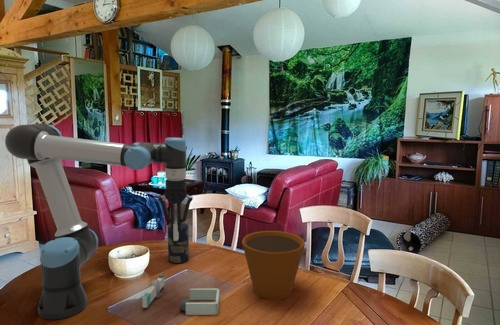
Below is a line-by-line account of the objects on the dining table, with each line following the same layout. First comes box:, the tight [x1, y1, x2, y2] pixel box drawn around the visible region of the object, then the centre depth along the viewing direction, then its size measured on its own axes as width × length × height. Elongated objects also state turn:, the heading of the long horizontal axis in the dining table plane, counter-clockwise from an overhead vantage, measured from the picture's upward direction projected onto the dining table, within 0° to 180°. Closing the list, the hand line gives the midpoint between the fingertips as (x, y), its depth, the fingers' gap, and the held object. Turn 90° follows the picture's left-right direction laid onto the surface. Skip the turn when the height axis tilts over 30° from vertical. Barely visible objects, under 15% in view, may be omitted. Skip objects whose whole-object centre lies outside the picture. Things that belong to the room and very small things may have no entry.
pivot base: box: [153, 291, 163, 300], centre depth 133 cm, size 4×4×1 cm
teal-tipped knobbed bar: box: [141, 272, 165, 309], centre depth 131 cm, size 3×17×5 cm, turn 173°
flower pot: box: [241, 230, 306, 300], centre depth 137 cm, size 24×24×20 cm
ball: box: [179, 298, 192, 312], centre depth 123 cm, size 4×4×4 cm
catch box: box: [185, 288, 221, 316], centre depth 125 cm, size 11×11×4 cm
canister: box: [167, 222, 190, 264], centre depth 164 cm, size 10×10×18 cm
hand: (176, 239), depth 136 cm, fingers closed
